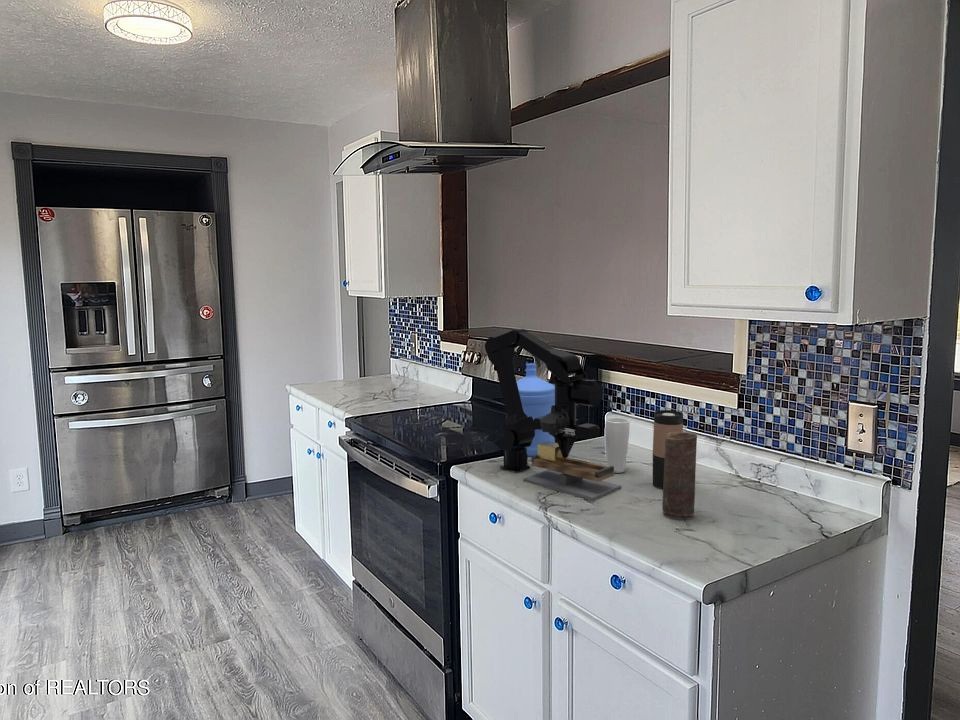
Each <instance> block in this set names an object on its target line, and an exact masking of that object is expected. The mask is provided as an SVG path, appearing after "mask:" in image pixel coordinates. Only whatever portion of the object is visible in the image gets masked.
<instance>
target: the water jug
mask: <svg viewBox="0 0 960 720" xmlns="http://www.w3.org/2000/svg"><path fill="white" fill-rule="evenodd" d="M525 366H526V368H525V372H526V373H525V374H526V375H525V377H524V376H523V377H522V378H520V379H518V380H516V381H517V386H518V390H519V394H520V399H521V403H522V407H523V411H524V413H525V414H526V415H527V416H528V417H531V416H532V418H533V420H534V419H535V418H538V417H542V416H546V415H547V414H549V413H550V412H551V407H552V405H555V384H550V383H548V381H545V380H544V379H542V378H540V377H538V376H537V368H536V366H537V363H534V362H532V363H531V362H530V363H529V362H528V363H525ZM505 417H506V418H507V416H505ZM506 418H505V419H506ZM547 441H549V442H554V443H556V439H555V438H554V437H553V436H552V435H550V434H549V432H543V431H542V429H541V430H538V429H536V430H535V437H534V438H533V440H532V443H531V446H530V447H525V448H527V455H528V457H533V456H536V455H538V444H540V443H543V442H547Z"/></svg>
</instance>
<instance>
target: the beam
mask: <svg viewBox="0 0 960 720" xmlns="http://www.w3.org/2000/svg"><path fill="white" fill-rule="evenodd" d="M531 466H533V467H536V468H541V469H545V470H552V471H556V472H560V473H564V474H568V475H572V476H576V477H580V478H584V479H589V480H593V481H597V482H599V481H605V480H606V479H609V478H612V477H614V474H615V473H614V466H609V467H607V465H606V466H605V465H600V464H596V463H593V462H588V461H583V460H579V459H575V458H570V457H567V458H565V463H562V464H558V463H554V462H549V461H545V460H541V459H538V455H536V456H531Z"/></svg>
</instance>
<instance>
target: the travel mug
mask: <svg viewBox="0 0 960 720" xmlns="http://www.w3.org/2000/svg"><path fill="white" fill-rule="evenodd" d="M653 416H654V418H653V435H652V436H653V437H652V438H653V439H652V485H653V487H654V488H657V489H661V490H663V482H664V461H665V437H666V435H667V434H668V433H670V432H679V433H681V432H683V431H684V412H681V411H679V410H671V409H660V410H655V411H654V412H653Z"/></svg>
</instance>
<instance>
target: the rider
mask: <svg viewBox="0 0 960 720" xmlns="http://www.w3.org/2000/svg"><path fill="white" fill-rule="evenodd" d="M538 459H541V460H545V461H549V462H554V463H558V464H562V463H565V458H563V457H562V454H561V451H560V448H559V445H558V443H557V442H555V443H554V442H549V441H547V442H543V443H540V444H538Z"/></svg>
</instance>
